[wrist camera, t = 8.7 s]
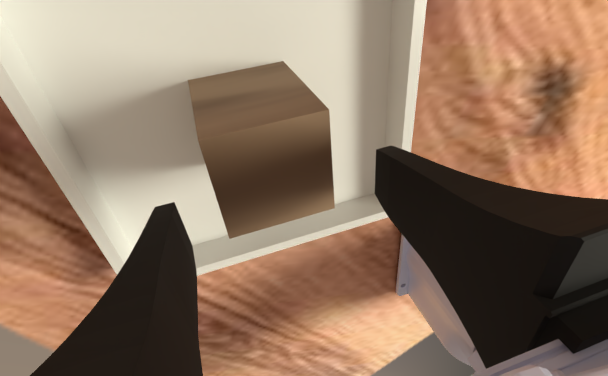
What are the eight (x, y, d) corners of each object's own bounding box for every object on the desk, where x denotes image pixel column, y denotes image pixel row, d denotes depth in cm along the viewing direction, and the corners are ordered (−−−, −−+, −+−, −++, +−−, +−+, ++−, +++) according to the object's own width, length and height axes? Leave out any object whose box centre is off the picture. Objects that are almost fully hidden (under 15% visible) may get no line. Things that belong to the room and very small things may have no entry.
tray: (385, 190, 25) (404, 212, 23) (133, 263, 21) (130, 296, 19) (402, -105, 15) (438, -111, 13) (-53, -54, 12) (-96, -51, 10)
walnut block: (294, 143, 19) (334, 208, 15) (213, 163, 19) (229, 238, 14) (283, 61, 17) (329, 109, 12) (187, 80, 16) (197, 140, 11)
